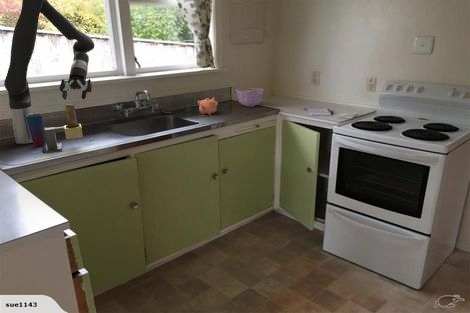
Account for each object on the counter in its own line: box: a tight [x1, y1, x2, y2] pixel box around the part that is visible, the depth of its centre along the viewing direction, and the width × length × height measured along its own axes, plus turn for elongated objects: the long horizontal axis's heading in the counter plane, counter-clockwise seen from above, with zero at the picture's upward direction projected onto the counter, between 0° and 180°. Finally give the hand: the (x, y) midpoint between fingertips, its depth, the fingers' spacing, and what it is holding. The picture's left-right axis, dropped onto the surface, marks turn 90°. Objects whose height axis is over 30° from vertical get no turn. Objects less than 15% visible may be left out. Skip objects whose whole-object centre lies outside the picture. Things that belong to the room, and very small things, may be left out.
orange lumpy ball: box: [197, 96, 219, 116], centre depth 247 cm, size 14×12×10 cm
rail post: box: [64, 103, 78, 128], centre depth 177 cm, size 4×4×14 cm
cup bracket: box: [42, 123, 84, 154], centre depth 177 cm, size 18×10×10 cm, turn 113°
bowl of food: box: [235, 87, 265, 108], centre depth 271 cm, size 20×20×12 cm
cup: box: [26, 113, 46, 148], centre depth 180 cm, size 7×7×15 cm
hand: (73, 98), depth 179 cm, fingers open, 8 cm apart
